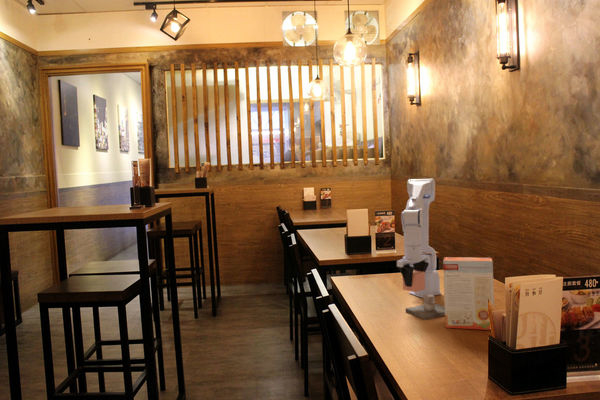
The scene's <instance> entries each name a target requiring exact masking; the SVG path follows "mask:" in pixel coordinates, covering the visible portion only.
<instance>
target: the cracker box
mask: <svg viewBox="0 0 600 400" xmlns="http://www.w3.org/2000/svg"><path fill="white" fill-rule="evenodd" d="M442 262H443V263H442V264H443V265H442V266H443V289H444V290H443V291H444V293H443V295H444V297H443V298H444V307H445V316H444V320H445V321H444V323H445V328H447V329H462V330H463V329H465V330H479V331H481V330H482V331H483V330H484V331H491V330H490V322H489V314H488V299H489V300H490V301H491V303H492V305H493V307H494V308H495V302H494V300H495V299H494V297H495V296H494V295H495V294H494V261H493V258H492V257H472V256H471V257H468V256H467V257H461V256H459V257H458V256H457V257H453V256H452V257H451V256H449V257H447V256H445V257H443V261H442Z"/></svg>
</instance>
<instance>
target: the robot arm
mask: <svg viewBox="0 0 600 400" xmlns="http://www.w3.org/2000/svg"><path fill="white" fill-rule="evenodd" d="M406 185H407V186H406V190H407V193H408V200H407V202H406V205H405V209H404V210H403V211H401V215H400V221H401V225H402V227H401V228H402V232H403V250H404V251H403V252H404V256H402V258H401V259H399V260H396V267H397V268H398V270H399V271H400V274H401V276H402V280H403V279H404V282H405V286H408V287H411V286H412V275H413V271H414V270H417V271H423V272H425V289H424V290H421V291H418V292H412V291H408V293H409V294H410V295H414V296H417V297H419V298H423V296H424V295H429V294H430V295H433V296H439V295H441V294H442V292H441V285H440V284H441V283H440V282H441V281H440V275H439V273H438V271H437V252H436V250H435V248H433V247H431V246H430V245H429V237H430V235H429V229H430V227H429V225H430V224H429V219H430V214H429V212H430V210H429V209H430V205H431V203H432V202H435V198H436V180H435V179H434V178H432V177H431V178H413V179H412V178H409V179H408V180H407V182H406Z"/></svg>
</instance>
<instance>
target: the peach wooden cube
mask: <svg viewBox="0 0 600 400" xmlns="http://www.w3.org/2000/svg"><path fill="white" fill-rule="evenodd" d="M424 289H425V272H423V271H417V270H414V271H413V275H412V286H411V287H408V286H405V282H404V279H403V278H402V290H403V291H408V292H411V291H412V292H418V291H421V290H424Z"/></svg>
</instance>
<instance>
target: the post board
mask: <svg viewBox="0 0 600 400" xmlns="http://www.w3.org/2000/svg"><path fill="white" fill-rule="evenodd" d="M435 297H436V295H430V294H429V295H424V296H423V300H422V301H423V304H422V305H421V304H419V305H415V306H410V307H406V308H405V313H407V314H410V315H412V316H415V317H417V318H419V319H422V320H430V319H435V318H439V317H445V305H441V304H438V303H436V298H435Z"/></svg>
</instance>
